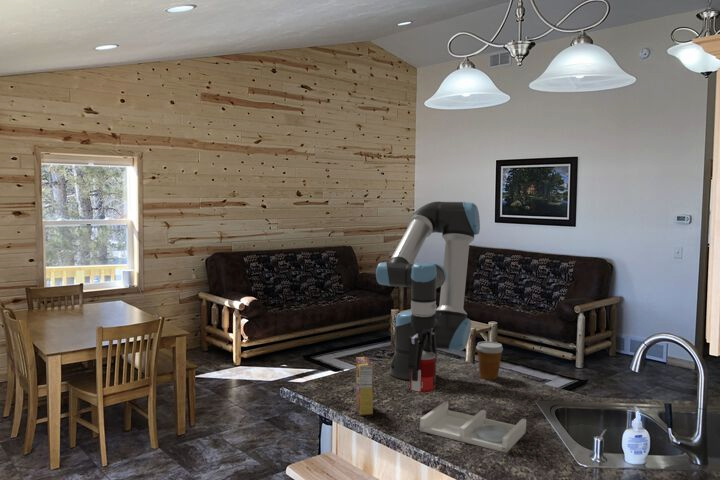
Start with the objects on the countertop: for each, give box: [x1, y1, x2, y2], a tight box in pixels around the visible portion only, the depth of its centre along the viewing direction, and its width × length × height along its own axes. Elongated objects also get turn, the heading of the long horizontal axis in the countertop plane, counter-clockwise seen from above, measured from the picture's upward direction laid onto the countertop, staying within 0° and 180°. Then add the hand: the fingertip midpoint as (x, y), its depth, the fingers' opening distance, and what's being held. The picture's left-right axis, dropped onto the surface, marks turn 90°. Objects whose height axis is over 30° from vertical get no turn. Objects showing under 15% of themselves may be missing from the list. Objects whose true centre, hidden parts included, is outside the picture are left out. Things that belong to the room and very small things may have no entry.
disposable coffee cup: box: [475, 340, 504, 380], centre depth 219 cm, size 10×10×12 cm
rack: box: [419, 401, 527, 453], centre depth 168 cm, size 16×25×4 cm, turn 57°
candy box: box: [355, 356, 374, 416], centre depth 185 cm, size 9×4×15 cm, turn 8°
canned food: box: [409, 351, 437, 394], centre depth 187 cm, size 8×8×11 cm
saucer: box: [476, 425, 509, 443], centre depth 165 cm, size 9×9×1 cm
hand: (422, 386), depth 188 cm, fingers closed on canned food, 8 cm apart
